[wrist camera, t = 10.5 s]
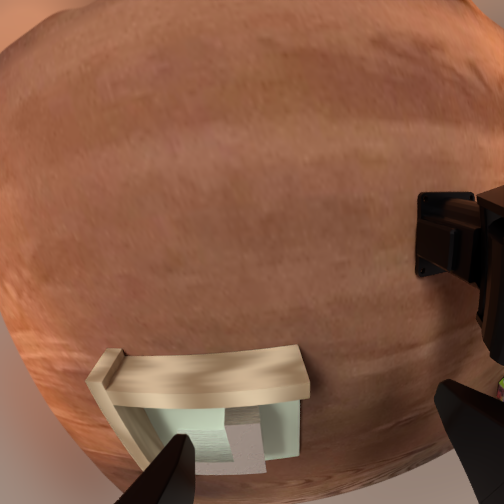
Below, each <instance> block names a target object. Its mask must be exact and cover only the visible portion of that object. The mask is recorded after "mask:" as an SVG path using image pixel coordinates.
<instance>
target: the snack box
mask: <svg viewBox="0 0 504 504" xmlns="http://www.w3.org/2000/svg"><path fill="white" fill-rule="evenodd" d="M497 397H498V398H499V399H500V400H501V401H503V402H504V378H503V379H502V380H501V381H500V382H499V388H498V393H497Z"/></svg>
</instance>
